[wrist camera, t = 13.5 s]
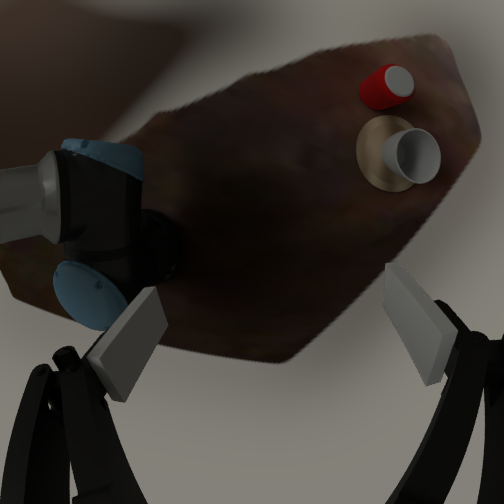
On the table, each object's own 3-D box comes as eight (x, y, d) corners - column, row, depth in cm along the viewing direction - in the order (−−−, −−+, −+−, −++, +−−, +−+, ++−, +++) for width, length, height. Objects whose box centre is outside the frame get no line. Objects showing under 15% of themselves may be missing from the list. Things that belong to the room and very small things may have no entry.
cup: (419, 163, 42) (448, 168, 32) (386, 184, 44) (411, 193, 34) (398, 123, 40) (425, 119, 30) (364, 144, 42) (385, 143, 32)
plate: (359, 193, 46) (360, 194, 45) (350, 115, 41) (351, 114, 40) (425, 189, 44) (427, 190, 43) (419, 116, 39) (421, 116, 38)
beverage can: (352, 82, 39) (373, 63, 28) (381, 76, 38) (409, 59, 26) (364, 114, 41) (390, 104, 29) (393, 107, 39) (425, 98, 28)
